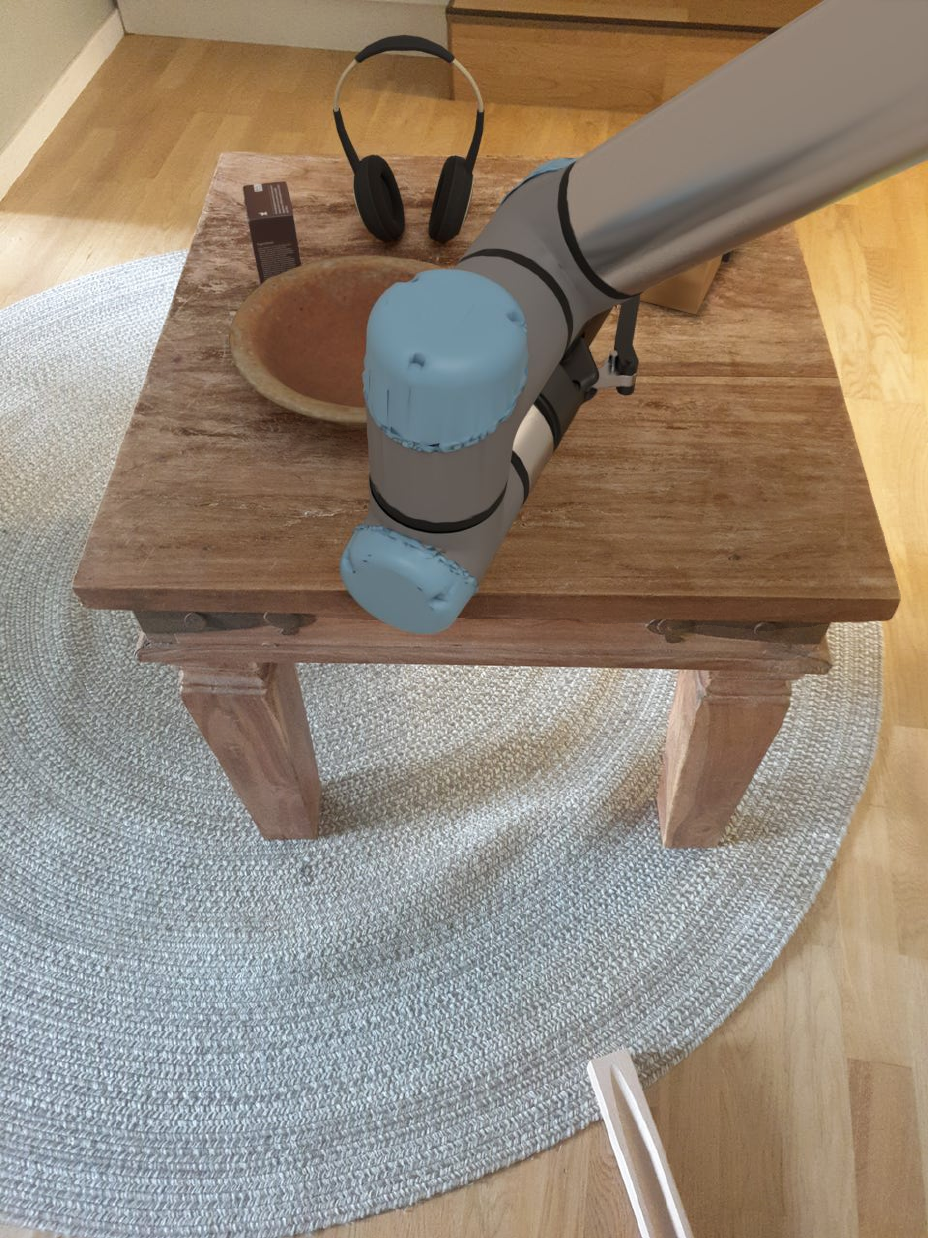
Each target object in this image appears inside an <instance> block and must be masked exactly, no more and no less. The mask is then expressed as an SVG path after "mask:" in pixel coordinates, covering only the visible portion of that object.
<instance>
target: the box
mask: <svg viewBox="0 0 928 1238" xmlns="http://www.w3.org/2000/svg"><path fill="white" fill-rule="evenodd" d="M242 194H243V198H244V199H243V203H244V206H245V211H246V217H247V223H248V227H249V233H250V238H251V244H252V249H253V255H254V260H255V265H256V268H257V269H256V270H257V274H258V280H259V286H260V285H261V284H262V283H263V282H264V281H266V280H267V279H268V278H270V277H273V276H277V275H279V274H281V273H283V272H286V271H288V270H290V269H293V268H295V267H298V266H301V265H302V261H301V255H300V249H299V243H298V237H297V231H296V230H297V229H296V223H295V218H294V211H293V209H294V208H293V204H292V201H291V195H290V191H289V187H288V183H287V181H285V180H284V181H283V180H282V181H273V182H272V181H271V182H263V183H254V184H245V185H243V186H242Z"/></svg>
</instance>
